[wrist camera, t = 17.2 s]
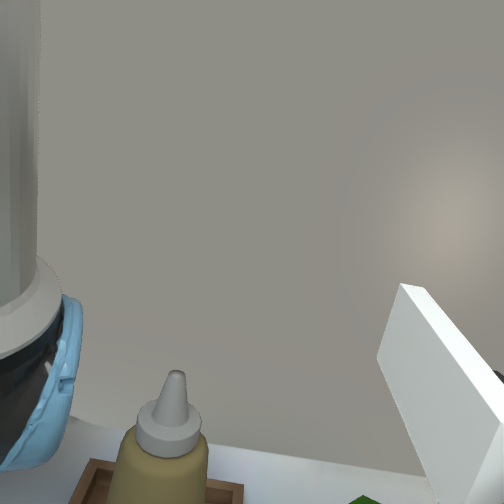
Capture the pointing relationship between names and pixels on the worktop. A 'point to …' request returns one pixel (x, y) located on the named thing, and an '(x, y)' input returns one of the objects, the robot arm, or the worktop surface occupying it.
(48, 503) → the worktop surface
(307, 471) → the worktop surface
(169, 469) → the squeeze bottle
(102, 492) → the walnut tray
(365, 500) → the bell pepper
